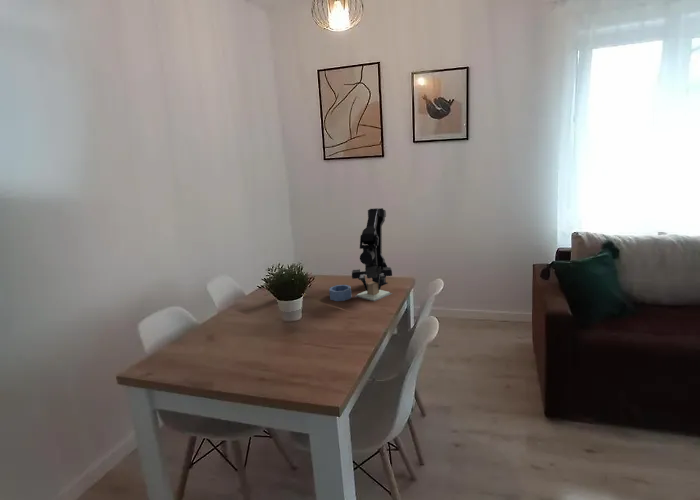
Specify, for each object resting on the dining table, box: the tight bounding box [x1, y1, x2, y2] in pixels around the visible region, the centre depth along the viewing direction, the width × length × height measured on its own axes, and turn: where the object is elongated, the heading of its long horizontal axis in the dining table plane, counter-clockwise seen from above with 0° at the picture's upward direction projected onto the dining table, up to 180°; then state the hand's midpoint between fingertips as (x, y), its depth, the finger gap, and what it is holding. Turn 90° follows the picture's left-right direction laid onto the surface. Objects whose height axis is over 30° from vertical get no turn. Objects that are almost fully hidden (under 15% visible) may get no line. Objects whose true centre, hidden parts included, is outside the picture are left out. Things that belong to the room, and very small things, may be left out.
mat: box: [354, 292, 393, 302], centre depth 218 cm, size 13×13×1 cm
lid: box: [356, 281, 391, 301], centre depth 217 cm, size 11×11×6 cm
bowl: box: [328, 284, 352, 302], centre depth 218 cm, size 10×10×5 cm
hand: (373, 290), depth 217 cm, fingers closed on lid, 6 cm apart
